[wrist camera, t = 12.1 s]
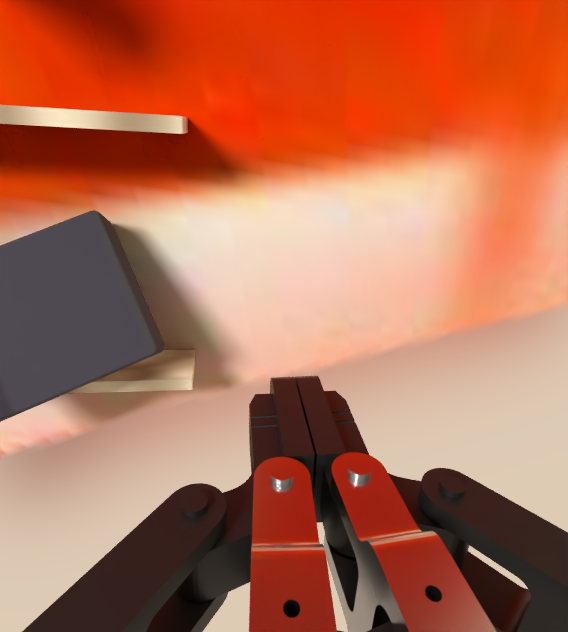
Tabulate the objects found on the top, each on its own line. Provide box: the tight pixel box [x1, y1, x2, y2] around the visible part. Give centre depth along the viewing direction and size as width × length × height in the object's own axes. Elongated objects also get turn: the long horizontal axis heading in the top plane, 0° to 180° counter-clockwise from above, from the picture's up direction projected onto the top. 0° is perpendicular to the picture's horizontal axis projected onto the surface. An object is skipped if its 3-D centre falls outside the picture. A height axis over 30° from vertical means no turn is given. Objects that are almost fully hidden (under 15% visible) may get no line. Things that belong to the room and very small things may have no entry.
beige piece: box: [0, 105, 196, 394], centre depth 31 cm, size 21×20×5 cm
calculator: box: [0, 211, 165, 422], centre depth 30 cm, size 11×4×15 cm
